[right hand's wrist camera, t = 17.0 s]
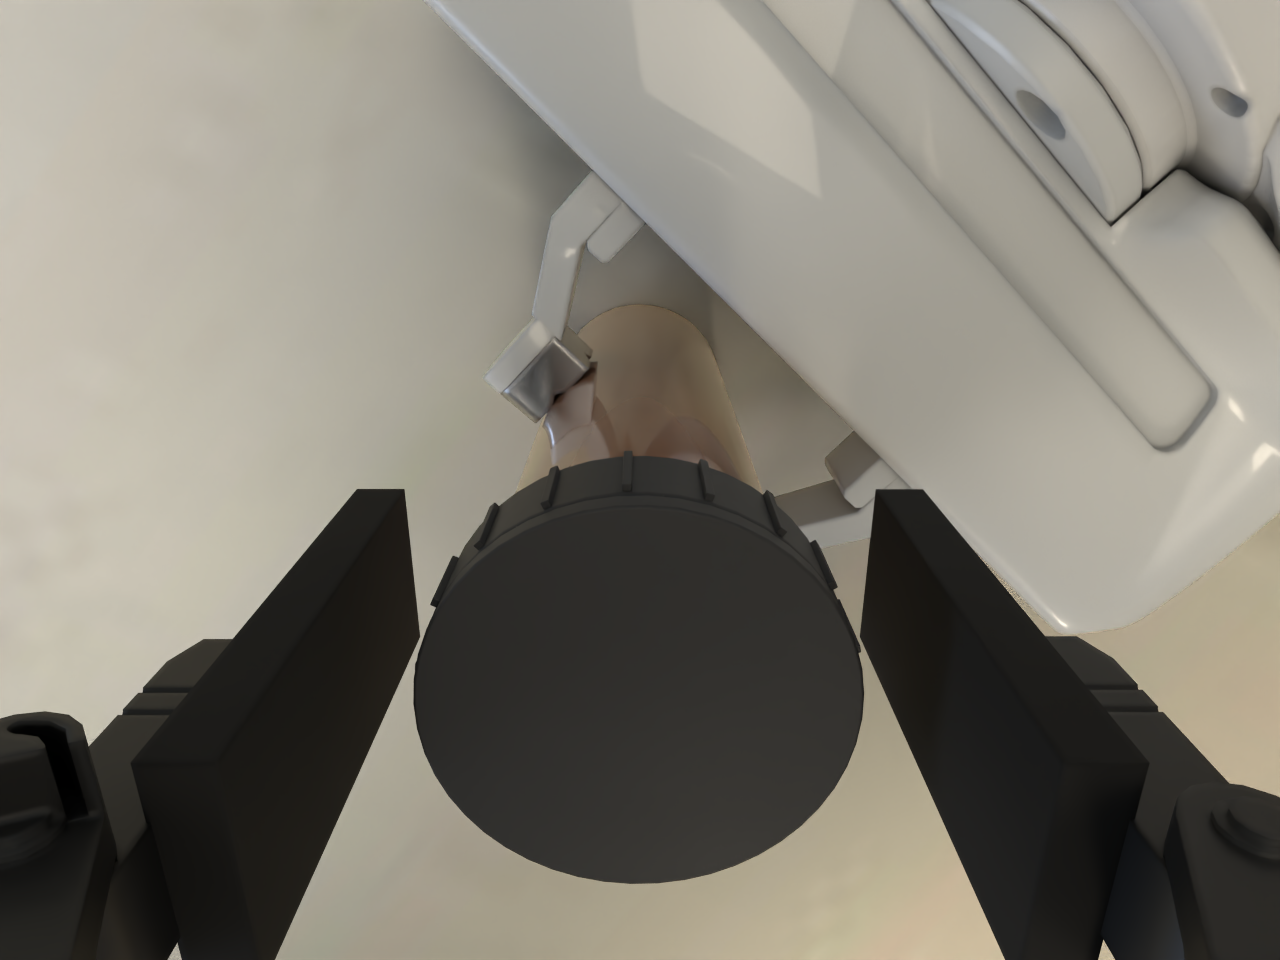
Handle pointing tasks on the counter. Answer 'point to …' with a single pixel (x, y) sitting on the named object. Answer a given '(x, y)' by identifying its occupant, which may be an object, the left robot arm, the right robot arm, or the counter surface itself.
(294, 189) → the counter surface
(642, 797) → the lid
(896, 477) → the left robot arm
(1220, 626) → the counter surface
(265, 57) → the counter surface
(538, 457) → the jar
